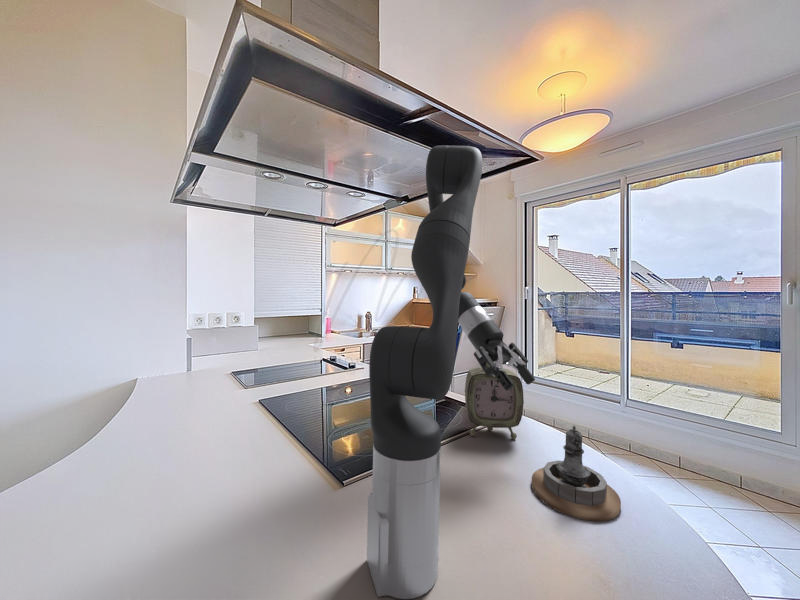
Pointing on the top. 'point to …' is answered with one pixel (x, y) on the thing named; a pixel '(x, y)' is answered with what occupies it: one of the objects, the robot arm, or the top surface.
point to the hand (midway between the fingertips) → (521, 385)
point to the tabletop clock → (493, 401)
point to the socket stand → (576, 495)
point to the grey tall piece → (573, 461)
